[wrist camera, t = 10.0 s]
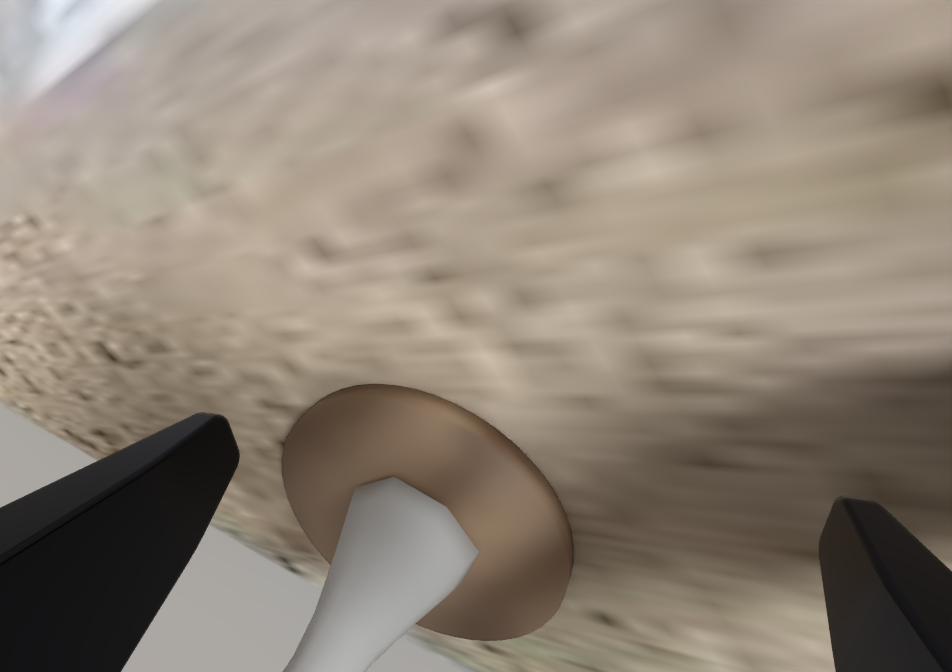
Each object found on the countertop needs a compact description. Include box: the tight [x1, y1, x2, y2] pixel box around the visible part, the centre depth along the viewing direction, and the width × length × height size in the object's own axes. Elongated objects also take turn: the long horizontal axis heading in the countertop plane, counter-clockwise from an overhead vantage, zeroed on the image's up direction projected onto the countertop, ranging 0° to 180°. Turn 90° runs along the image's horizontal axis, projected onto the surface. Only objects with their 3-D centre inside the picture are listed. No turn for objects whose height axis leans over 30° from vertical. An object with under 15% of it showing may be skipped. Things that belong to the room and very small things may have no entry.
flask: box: [283, 477, 479, 672], centre depth 25 cm, size 7×7×10 cm
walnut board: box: [282, 384, 574, 641], centre depth 30 cm, size 16×16×1 cm
